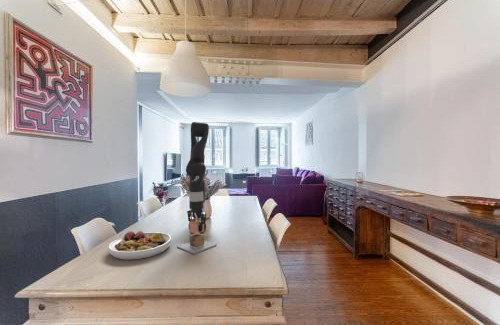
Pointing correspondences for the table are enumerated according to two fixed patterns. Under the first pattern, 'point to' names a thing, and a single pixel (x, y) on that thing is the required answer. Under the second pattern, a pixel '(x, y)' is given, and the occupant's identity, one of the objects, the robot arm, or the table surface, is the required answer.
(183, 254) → the table surface
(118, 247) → the bowl
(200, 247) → the grey square plate
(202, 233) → the alarm clock
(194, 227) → the terracotta block
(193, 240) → the walnut block
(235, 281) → the table surface
